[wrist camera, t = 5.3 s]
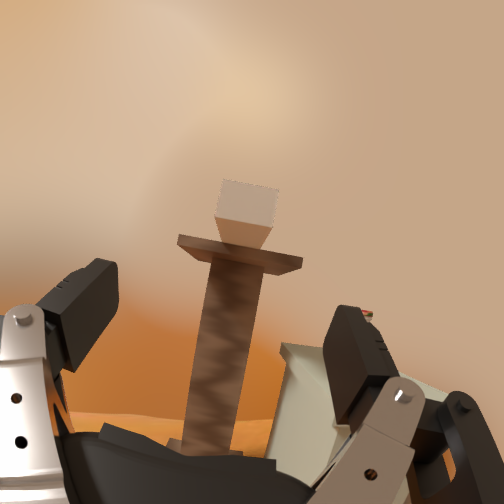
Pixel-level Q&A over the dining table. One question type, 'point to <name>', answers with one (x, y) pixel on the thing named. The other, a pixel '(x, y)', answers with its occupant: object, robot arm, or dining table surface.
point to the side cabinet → (313, 417)
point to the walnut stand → (223, 340)
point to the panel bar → (245, 213)
